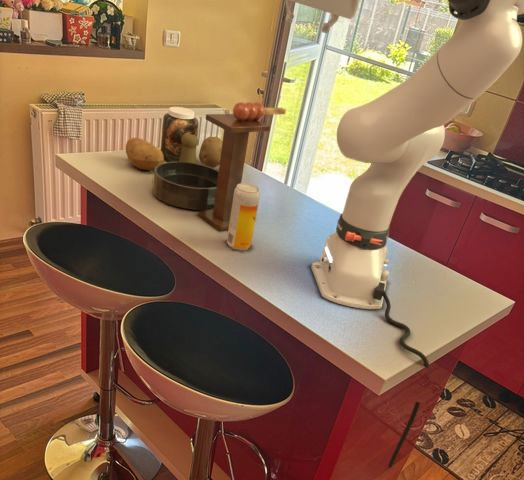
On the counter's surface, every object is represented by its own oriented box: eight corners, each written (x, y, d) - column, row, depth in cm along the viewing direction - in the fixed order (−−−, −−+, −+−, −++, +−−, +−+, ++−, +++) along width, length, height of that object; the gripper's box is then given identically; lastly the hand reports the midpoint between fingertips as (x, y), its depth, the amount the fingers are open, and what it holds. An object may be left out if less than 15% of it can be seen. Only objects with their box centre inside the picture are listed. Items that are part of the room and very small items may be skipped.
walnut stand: (229, 210, 153) (244, 113, 137) (252, 225, 147) (270, 126, 132) (194, 216, 145) (205, 114, 130) (216, 231, 140) (231, 127, 125)
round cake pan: (218, 217, 147) (221, 194, 144) (145, 202, 147) (146, 178, 143) (228, 191, 164) (231, 170, 160) (162, 178, 163) (163, 156, 159)
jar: (153, 153, 180) (155, 105, 171) (182, 151, 187) (186, 104, 178) (172, 165, 173) (176, 116, 165) (202, 163, 180) (207, 116, 172)
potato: (145, 179, 160) (147, 151, 156) (117, 162, 167) (117, 136, 162) (171, 174, 167) (173, 148, 162) (143, 159, 173) (144, 133, 169)
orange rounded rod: (277, 116, 141) (280, 100, 139) (287, 121, 139) (290, 105, 136) (228, 117, 131) (230, 100, 129) (238, 123, 129) (241, 105, 127)
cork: (195, 175, 170) (199, 139, 164) (175, 171, 169) (178, 135, 163) (197, 169, 175) (201, 134, 168) (178, 165, 174) (182, 130, 168)
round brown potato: (230, 169, 180) (235, 138, 175) (217, 175, 174) (221, 143, 168) (207, 161, 183) (210, 130, 177) (193, 167, 176) (196, 135, 170)
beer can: (255, 248, 136) (266, 190, 127) (238, 253, 132) (248, 194, 123) (238, 238, 139) (247, 181, 130) (221, 243, 135) (229, 184, 126)
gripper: (285, -49, 118) (267, 19, 127) (371, -21, 123) (346, 43, 133) (282, -58, 122) (264, 10, 131) (365, -30, 127) (342, 33, 137)
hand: (306, 26), depth 132 cm, fingers open, 8 cm apart
